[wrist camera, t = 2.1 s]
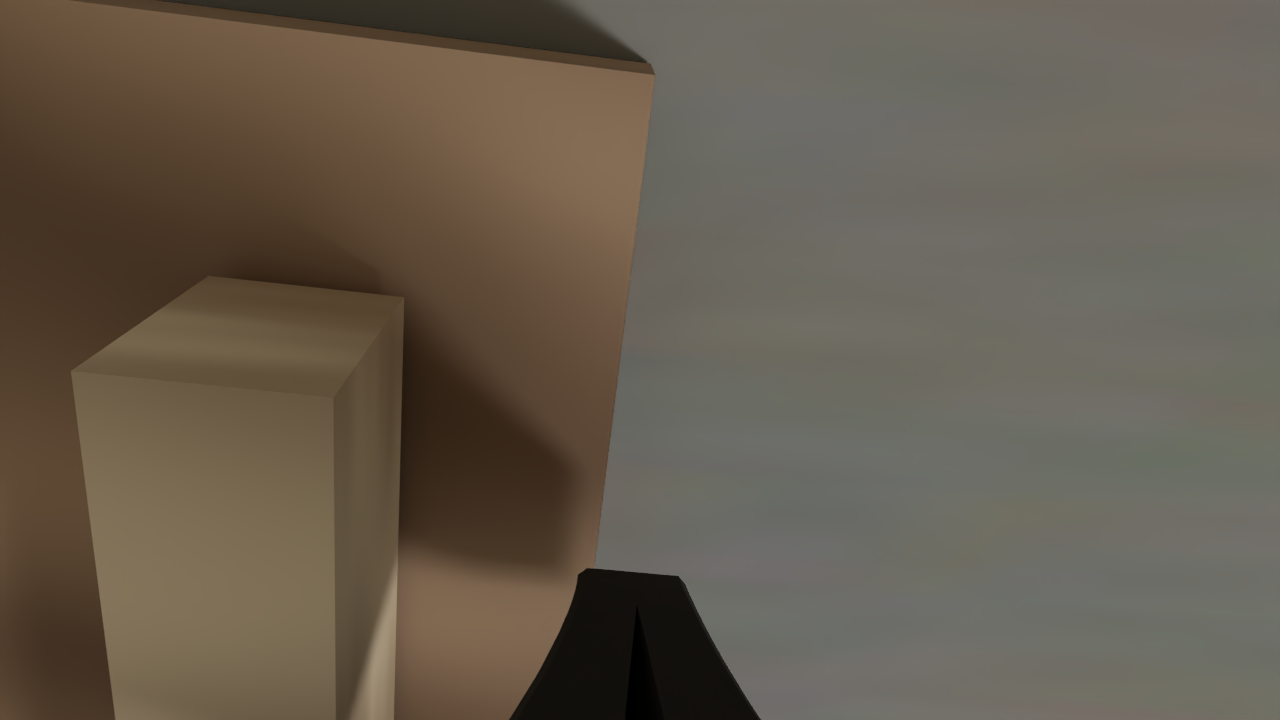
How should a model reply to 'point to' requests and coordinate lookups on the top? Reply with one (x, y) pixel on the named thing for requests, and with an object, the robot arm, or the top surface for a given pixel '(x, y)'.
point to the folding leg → (248, 503)
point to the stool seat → (332, 259)
